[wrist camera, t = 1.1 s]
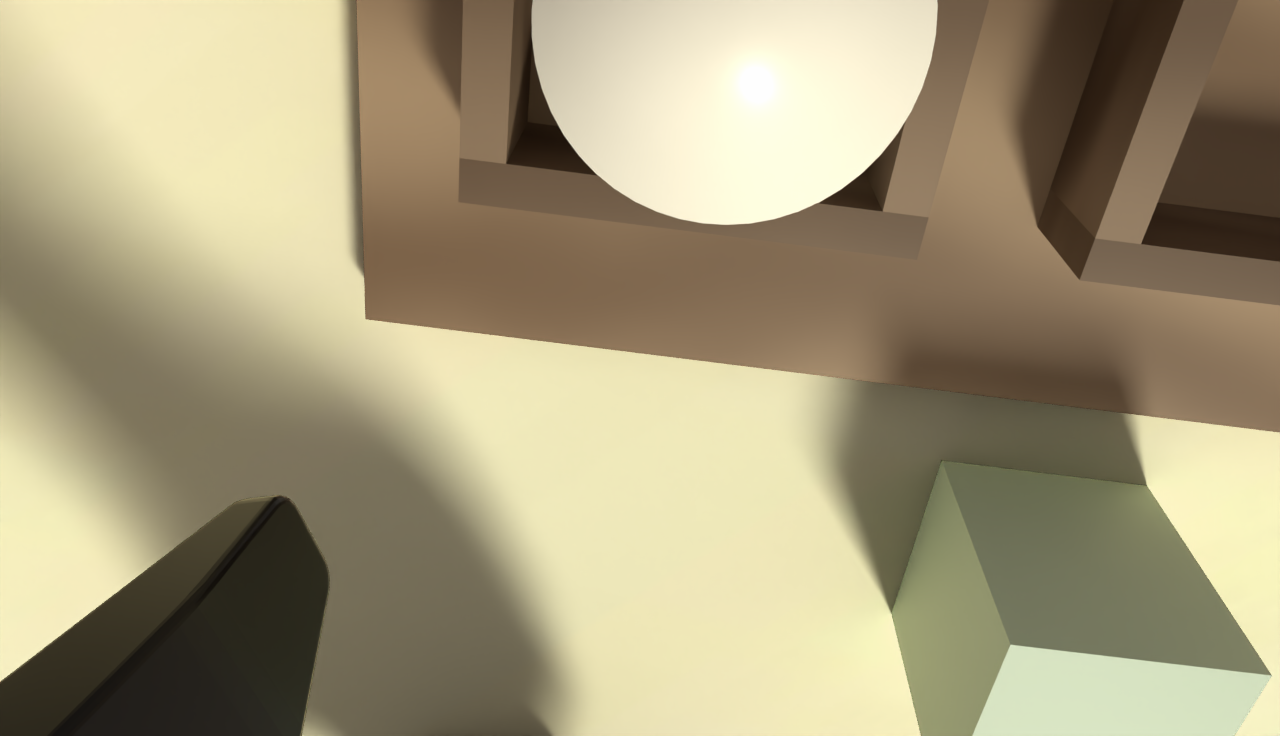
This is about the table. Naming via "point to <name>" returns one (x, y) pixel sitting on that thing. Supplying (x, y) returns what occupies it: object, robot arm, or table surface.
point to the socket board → (873, 213)
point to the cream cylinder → (731, 95)
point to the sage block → (1064, 614)
